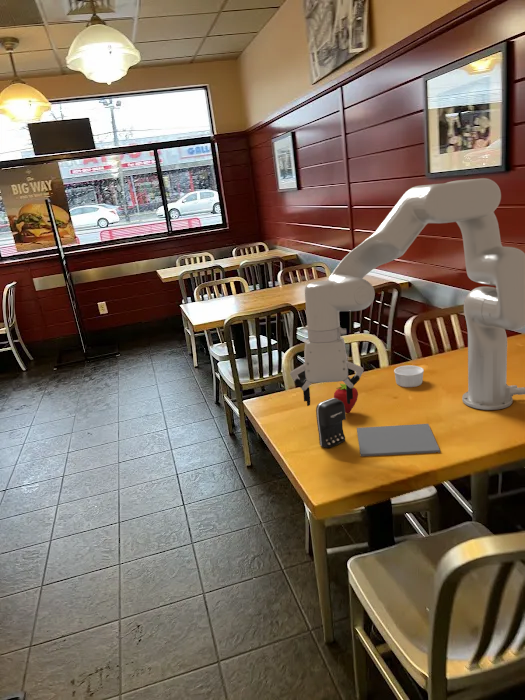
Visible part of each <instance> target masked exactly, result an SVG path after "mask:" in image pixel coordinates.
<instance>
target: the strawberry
mask: <svg viewBox="0 0 525 700" xmlns="http://www.w3.org/2000/svg"><path fill="white" fill-rule="evenodd" d="M339 385H340V386H339V387H336V390H335V391H334V392H333V398H336V399H338V400H341V401H342V402H343V403H344V406H345V414H349V413H351V411H352V410H353V408H354V407H355V405H356V403H357V401H358V399H359V398H358V397H359V393H358V389H357V388H356V387H355V386H354V387H353V388H352V390H353V399H350V404H348V403H347V393H346V384H345V383H339Z"/></svg>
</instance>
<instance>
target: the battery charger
mask: <svg viewBox="0 0 525 700" xmlns="http://www.w3.org/2000/svg"><path fill="white" fill-rule="evenodd" d="M315 409H316V410H315V412H316V414H315V417H316V423H317V431H318V440H319V442H318V443H319V446H320V447H321V448H322V447H323V448H325V449H326V448H327V449H330V448H333V447H335V446H338V445H340V444H341V443H344V442H345V441H346V436H345V433H344V429H343V427H344V426H343V421H345V420H346V419H347V418H346V417H347V416H346V414H347V413H345V406H344V403H343V402H342V401H341V400H338V399H336V398H334V397H331V398H328V399H326V400H324V401H321V402H319V403H318V404H317V405H316V408H315Z"/></svg>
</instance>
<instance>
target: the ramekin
mask: <svg viewBox="0 0 525 700" xmlns="http://www.w3.org/2000/svg"><path fill="white" fill-rule="evenodd" d="M424 372H425V371H424V367H421V366H418V365H411V364H409V365H401V366H397V367H396V368H394V370H393V373H394V378H395V383H396V385H398V386H400V387H403V388H413V387H414V388H415V387H418V386H421V385H422V384H423V381H424V380H423V377H424Z"/></svg>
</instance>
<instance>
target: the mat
mask: <svg viewBox="0 0 525 700" xmlns="http://www.w3.org/2000/svg"><path fill="white" fill-rule="evenodd" d="M356 434H357V439H358V440H357V441H358V448H359V454H360V457H375V456H376V457H378V456H392V455H394V456H395V455H397V456H398V455H412V454H413V455H414V454H415V455H416V453H417V455H418V454H432V453H433V454H434V453H436V452H438V453H441V450H440V447H439V444H438V443H437V440H436V438H435V436H434V434H433V431H432V429H431V427H430V424H429V423H419V424H418V423H416V424H403V425H402V424H400V425H399V424H398V425H384V426H369V427H368V426H367V427H356ZM436 454H437V453H436Z"/></svg>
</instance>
